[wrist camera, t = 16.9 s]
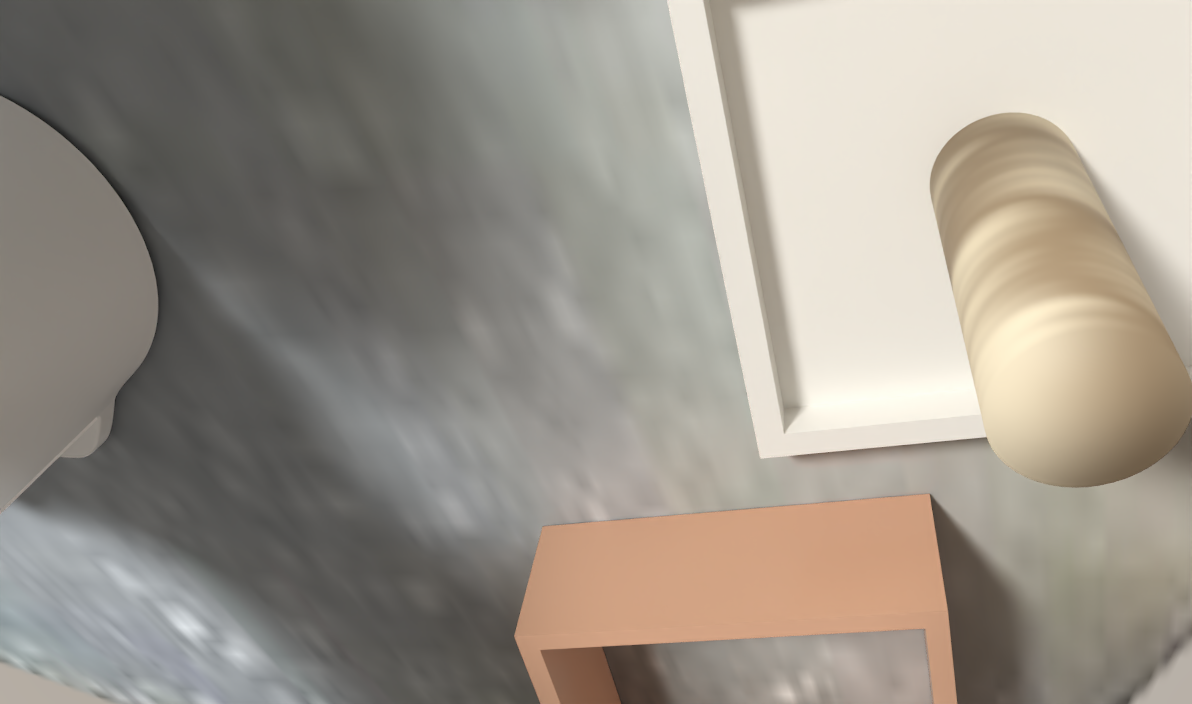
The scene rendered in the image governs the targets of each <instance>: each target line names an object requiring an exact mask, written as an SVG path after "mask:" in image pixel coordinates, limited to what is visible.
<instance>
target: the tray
mask: <svg viewBox="0 0 1192 704" xmlns="http://www.w3.org/2000/svg"><path fill="white" fill-rule="evenodd" d="M667 3H668V8H669V13H670V18H671V22H672V27H673V32H674V37H675V42H676V47H677V52H678V57H679V62H680V67H681V72H682V76H683V81H684V86H685V91H686V96H687V101H688V106H689V111H690V116H691V121H692V126H693V131H694V135H695V140H696V145H697V150H698V155H699V160H700V165H701V170H702V175H703V180H704V185H705V189H706V194H707V199H708V204H709V209H710V214H711V219H712V224H713V229H714V234H715V239H716V244H717V248H718V253H719V258H720V263H721V268H722V273H723V278H724V283H725V288H726V293H727V298H728V302H729V307H730V312H731V317H732V322H733V327H734V332H735V337H736V342H737V347H738V352H739V357H740V361H741V366H742V371H743V376H744V381H745V386H746V391H747V396H748V401H749V406H750V411H751V415H752V420H753V425H754V430H755V435H756V440H757V445H758V450H759V455H760V458H771V457H781V456H792V455H803V454H813V453H824V452H834V451H845V450H855V449H866V448H876V447H887V446H897V445H908V444H918V443H929V442H939V441H950V440H960V439H971V438H981V437H987V436H986V433H985V429H984V425H983V420H982V416H981V412H980V407H979V403H978V399H977V394H976V390H975V386H974V381H973V377H972V373H971V368H970V364H969V360H968V355H967V351H966V347H965V342H964V338H963V334H962V329H961V325H960V321H959V316H958V312H957V308H956V304H955V299H954V295H953V291H952V286H951V282H950V278H949V273H948V269H947V265H946V260H945V256H944V252H943V247H942V243H941V239H940V234H939V230H938V226H937V221H936V217H935V213H934V208H933V204H932V200H931V194H930V176H931V171H932V168H933V165H934V162H935V160H936V158H937V156H938V154H939V153H940V151H941V149H942V148H943V147H944V146H945V144H946V143H947V142H948V141H949V140H950V139H951V138H952V137H953V136H954V135H955V134H956V133H957V132H959V131H960V130H961V129H963V128H964V127H966V126H967V125H969V124H971V123H973V122H975V121H977V120H979V119H982V118H985V117H988V116H991V115H995V114H1000V113H1010V112H1011V113H1026V114H1032V115H1035V116H1039V117H1041V118H1044V119H1046V120H1048V121H1050V122H1052V123H1053V124H1055V125H1056V126H1057V127H1059V128H1060V129H1061V130H1062V131H1063V132H1064V133H1065V134H1066V135H1067V136H1068V138H1069V139H1070V141H1071V142H1072V144H1073V146H1074V148H1075V150H1076V152H1077V154H1078V156H1079V158H1080V160H1081V162H1082V164H1083V166H1084V168H1085V170H1086V172H1087V174H1088V176H1089V178H1090V180H1091V182H1092V184H1093V186H1094V188H1095V190H1096V192H1097V194H1098V195H1099V197H1100V199H1101V201H1102V203H1103V205H1104V207H1105V209H1106V211H1107V213H1108V215H1109V217H1110V219H1111V221H1112V223H1113V225H1114V227H1115V229H1116V231H1117V233H1118V235H1119V237H1120V239H1121V241H1122V243H1123V245H1124V247H1125V249H1126V251H1127V253H1128V255H1129V257H1130V259H1131V261H1132V263H1133V265H1134V267H1135V269H1136V271H1137V273H1138V275H1139V277H1140V279H1141V281H1142V283H1143V285H1144V287H1145V289H1146V291H1147V293H1148V294H1149V296H1150V298H1151V300H1152V302H1153V304H1154V306H1155V308H1156V310H1157V312H1158V314H1159V316H1160V318H1161V320H1162V322H1163V324H1164V326H1165V328H1166V330H1167V332H1168V334H1169V336H1170V338H1171V340H1172V342H1173V344H1174V346H1175V348H1176V350H1177V352H1178V354H1179V356H1180V358H1181V360H1182V362H1183V364H1184V366H1185V368H1186V370H1187V372H1188V374H1189V376H1190V379H1191V381H1192V0H667ZM1191 418H1192V416H1191Z"/></svg>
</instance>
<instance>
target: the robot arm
mask: <svg viewBox="0 0 1192 704" xmlns="http://www.w3.org/2000/svg"><path fill="white" fill-rule="evenodd" d="M157 319H158V291H157V284H156V278H155V274H154V269H153V265H152V262H151V259H150V256H149V253H148V250H147V247H146V245H145V242H144V240H143V238H142V236H141V234H140V231H139V229H138V227H137V225H136V224H135V222H134V220H133V218H132V216H131V214H130V213H129V211H128V210H127V208H126V206H125V205H124V203H123V202H122V200H121V199H120V197H119V196H118V195H117V193H116V192H115V190H114V189H113V188H112V186H111V185H110V184H109V183H108V181H107V180H106V179H105V178H104V176H103V175H102V174H101V173H100V172H99V171H98V170H97V168H96V167H95V166H94V165H93V164H92V163H91V162H90V161H89V160H88V159H87V158H86V157H85V156H84V155H83V154H82V153H81V152H80V151H79V150H78V149H77V148H76V147H75V146H73V145H72V144H71V143H70V142H69V141H68V140H67V139H65V138H64V137H63V136H62V135H61V134H59V133H58V132H57V131H56V130H54V129H53V128H52V127H50V126H49V125H48V124H46V123H45V122H44V121H42V120H41V119H39V118H38V117H36V116H35V115H33V114H32V113H30V112H28V111H27V110H25V109H24V108H22V107H20V106H18V105H17V104H15V103H13V102H11V101H9V100H7V99H6V98H4V97H2V96H0V514H1V513H2V512H3V511H4V510H5V509H6V508H7V507H8V506H9V505H10V504H11V503H12V502H14V501H15V500H16V499H17V498H18V497H19V496H20V495H21V494H22V493H23V492H24V491H25V490H26V489H27V488H28V487H29V486H30V485H31V484H32V483H33V482H34V481H35V480H36V479H37V478H38V477H39V476H40V475H41V474H42V473H43V472H44V471H45V470H46V469H47V468H48V467H49V466H50V465H51V464H52V463H53V462H55V461H56V460H57V459H58V458H59V457H67V458H83V457H87V456H89V455H91V454H92V453H93V452H94V451H95V450H96V449H97V448H98V447H100V446H101V445H102V444H103V443H104V442H105V441H106V440H107V438H108V436H109V434H110V431H111V427H112V422H113V414H114V405H115V397H116V396H117V394H118V392H119V390H120V389H121V387H122V386H123V385H124V384H125V382H126V381H127V380H128V379H129V378H130V377H131V376H132V375H133V373H134V372H135V371H136V370H137V369H138V368H139V366H140V365H141V363H142V362H143V360H144V359H145V357H146V355H147V353H148V351H149V349H150V347H151V344H152V341H153V338H154V335H155V331H156V326H157Z"/></svg>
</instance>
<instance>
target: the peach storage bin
mask: <svg viewBox="0 0 1192 704" xmlns="http://www.w3.org/2000/svg"><path fill="white" fill-rule="evenodd" d="M907 629H924V636H925V644H926V653H927V661H928V670H929V679H930V687H931V696H932V704H957V697H956V687H955V677H954V667H953V657H952V647H951V637H950V627H949V617H948V608H947V602H946V595H945V589H944V583H943V576H942V570H941V563H940V557H939V551H938V544H937V538H936V532H935V525H934V519H933V512H932V506H931V500H930V494H922V495H910V496H898V497H886V498H874V499H862V500H850V501H839V502H827V503H815V504H803V505H791V506H779V507H767V508H755V509H743V510H732V511H720V512H708V513H696V514H684V515H672V516H660V517H648V518H637V519H625V520H613V521H601V522H589V523H577V524H565V525H553V526H543V527H542V531H541V535H540V539H539V543H538V546H537V550H536V554H535V558H534V562H533V566H532V569H531V573H530V577H529V581H528V585H527V589H526V593H525V596H524V600H523V604H522V608H521V612H520V616H519V619H518V623H517V627H516V631H515V635H514V638H515V640H516V643H517V645H518V648H519V650H520V653H521V655H522V658H523V660H524V663H525V666H526V668H527V671H528V673H529V676H530V678H531V681H532V683H533V686H534V688H535V691H536V693H537V696H538V699H539V701H540V704H621V701H620V698H619V695H618V692H617V690H616V687H615V684H614V681H613V678H612V675H611V672H610V669H609V666H608V663H607V660H606V657H605V654H604V651H603V648H602V647H603V646H621V645H639V644H656V643H674V642H692V641H710V640H728V639H746V638H764V637H782V636H800V635H818V634H836V633H854V632H871V631H889V630H907Z"/></svg>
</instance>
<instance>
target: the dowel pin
mask: <svg viewBox="0 0 1192 704" xmlns="http://www.w3.org/2000/svg"><path fill="white" fill-rule="evenodd" d="M930 194H931V200H932V204H933V208H934V213H935V217H936V221H937V226H938V230H939V234H940V239H941V243H942V247H943V252H944V256H945V260H946V265H947V269H948V273H949V278H950V282H951V286H952V291H953V295H954V299H955V304H956V308H957V312H958V316H959V321H960V325H961V329H962V334H963V338H964V342H965V347H966V351H967V355H968V360H969V364H970V368H971V373H972V377H973V381H974V386H975V390H976V394H977V399H978V403H979V407H980V412H981V416H982V420H983V425H984V429H985V433H986V436H987V439H988V442H989V444H990V445H991V447H992V449H993V451H994V452H995V453H996V455H997V456H998V457H999V458H1000V459H1001V460H1002V461H1003V462H1004V463H1005V464H1006V465H1007V466H1008V467H1010V468H1011V469H1013V470H1014V471H1015V472H1017V473H1019V474H1021V475H1023V476H1025V477H1027V478H1029V479H1032V480H1034V481H1037V482H1041V483H1044V484H1048V485H1054V486H1060V487H1091V486H1099V485H1104V484H1108V483H1113V482H1116V481H1119V480H1122V479H1125V478H1128V477H1130V476H1133V475H1135V474H1137V473H1139V472H1141V471H1143V470H1145V469H1147V468H1148V467H1150V466H1152V465H1153V464H1154V463H1156V462H1157V461H1159V460H1160V459H1161V458H1163V457H1164V456H1165V455H1166V454H1167V453H1168V452H1169V451H1170V450H1171V449H1172V448H1173V447H1174V446H1175V445H1176V444H1177V443H1178V441H1179V440H1180V438H1181V437H1182V436H1183V434H1184V433H1185V431H1186V429H1187V427H1188V425H1189V423H1190V419H1191V416H1192V381H1191V379H1190V376H1189V374H1188V372H1187V370H1186V368H1185V366H1184V364H1183V362H1182V360H1181V358H1180V356H1179V354H1178V352H1177V350H1176V348H1175V346H1174V344H1173V342H1172V340H1171V338H1170V336H1169V334H1168V332H1167V330H1166V328H1165V326H1164V324H1163V322H1162V320H1161V318H1160V316H1159V314H1158V312H1157V310H1156V308H1155V306H1154V304H1153V302H1152V300H1151V298H1150V296H1149V294H1148V293H1147V291H1146V289H1145V287H1144V285H1143V283H1142V281H1141V279H1140V277H1139V275H1138V273H1137V271H1136V269H1135V267H1134V265H1133V263H1132V261H1131V259H1130V257H1129V255H1128V253H1127V251H1126V249H1125V247H1124V245H1123V243H1122V241H1121V239H1120V237H1119V235H1118V233H1117V231H1116V229H1115V227H1114V225H1113V223H1112V221H1111V219H1110V217H1109V215H1108V213H1107V211H1106V209H1105V207H1104V205H1103V203H1102V201H1101V199H1100V197H1099V195H1098V194H1097V192H1096V190H1095V188H1094V186H1093V184H1092V182H1091V180H1090V178H1089V176H1088V174H1087V172H1086V170H1085V168H1084V166H1083V164H1082V162H1081V160H1080V158H1079V156H1078V154H1077V152H1076V150H1075V148H1074V146H1073V144H1072V142H1071V141H1070V139H1069V138H1068V136H1067V135H1066V134H1065V133H1064V132H1063V131H1062V130H1061V129H1060V128H1059V127H1057V126H1056V125H1055V124H1053V123H1052V122H1050V121H1048V120H1046V119H1044V118H1041V117H1039V116H1035V115H1032V114H1026V113H1011V112H1010V113H1000V114H995V115H991V116H988V117H985V118H982V119H979V120H977V121H975V122H973V123H971V124H969V125H967V126H966V127H964V128H963V129H961V130H960V131H959V132H957V133H956V134H955V135H954V136H953V137H952V138H951V139H950V140H949V141H948V142H947V143H946V144H945V146H944V147H943V148H942V149H941V151H940V153H939V154H938V156H937V158H936V160H935V162H934V165H933V168H932V171H931V176H930Z"/></svg>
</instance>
